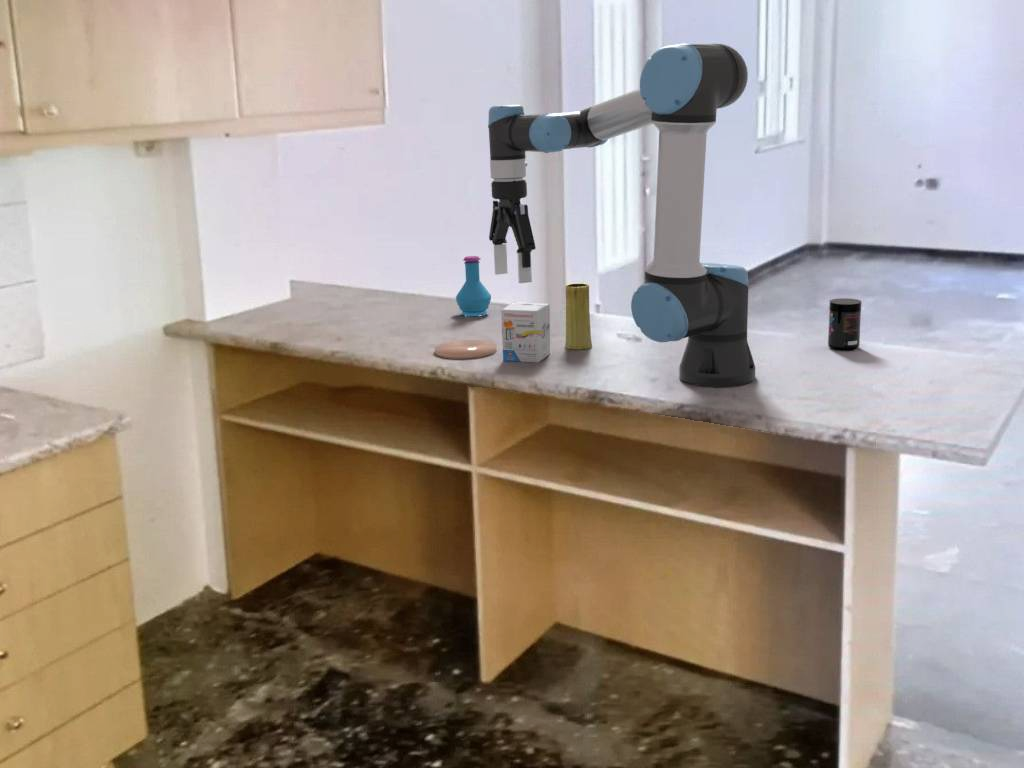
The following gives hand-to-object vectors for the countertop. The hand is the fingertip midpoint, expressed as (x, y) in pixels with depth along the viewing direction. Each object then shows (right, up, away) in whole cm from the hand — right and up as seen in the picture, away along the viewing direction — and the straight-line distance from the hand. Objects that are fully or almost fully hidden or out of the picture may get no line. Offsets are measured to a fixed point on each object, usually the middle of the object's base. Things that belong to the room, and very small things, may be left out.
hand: (513, 278), depth 252 cm
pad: (-11, -16, +11) cm, 22 cm away
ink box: (+3, -17, +4) cm, 18 cm away
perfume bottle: (-10, -5, +51) cm, 52 cm away
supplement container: (+72, -15, +2) cm, 74 cm away
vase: (+15, -15, +11) cm, 24 cm away
